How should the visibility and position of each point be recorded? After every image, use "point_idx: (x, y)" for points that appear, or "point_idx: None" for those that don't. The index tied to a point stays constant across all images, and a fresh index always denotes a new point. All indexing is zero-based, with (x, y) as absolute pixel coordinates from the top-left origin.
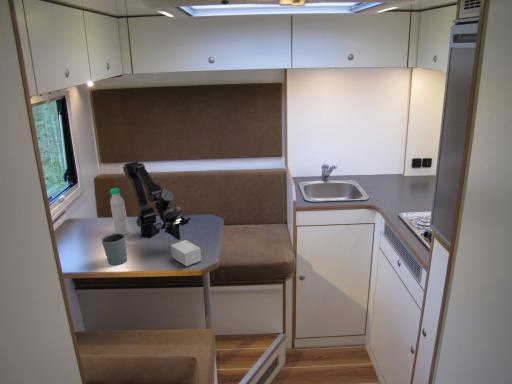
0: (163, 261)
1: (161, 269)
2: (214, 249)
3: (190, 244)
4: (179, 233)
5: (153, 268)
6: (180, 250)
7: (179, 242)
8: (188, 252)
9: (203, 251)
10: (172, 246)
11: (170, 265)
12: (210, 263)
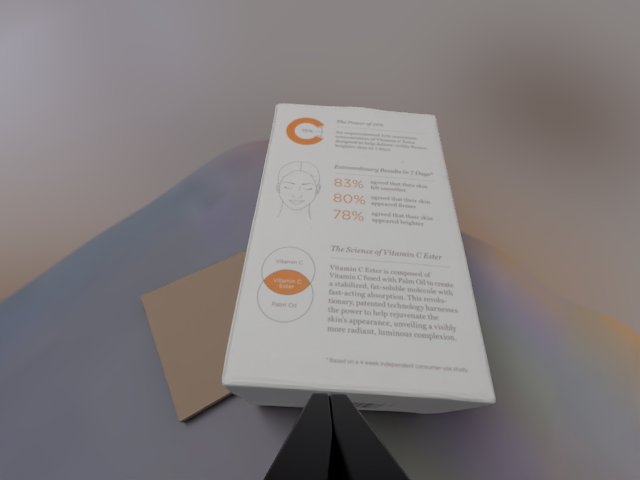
0: (515, 431)
1: (557, 304)
2: (70, 266)
3: (285, 206)
4: (273, 467)
5: (621, 372)
6: (441, 176)
7: (347, 372)
8: (396, 114)
9: (155, 291)
10: (482, 339)
11: (479, 306)
12: (265, 146)
